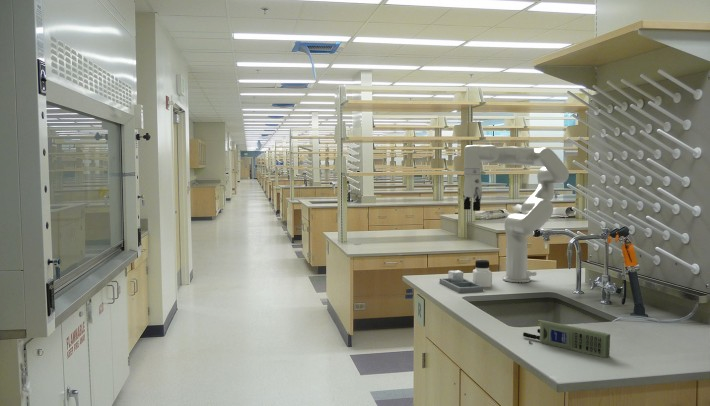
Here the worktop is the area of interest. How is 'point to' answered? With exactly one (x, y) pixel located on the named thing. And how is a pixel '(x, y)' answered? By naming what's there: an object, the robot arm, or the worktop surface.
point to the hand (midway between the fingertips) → (471, 210)
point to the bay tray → (462, 286)
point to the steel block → (455, 276)
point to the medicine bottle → (482, 273)
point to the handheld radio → (573, 338)
